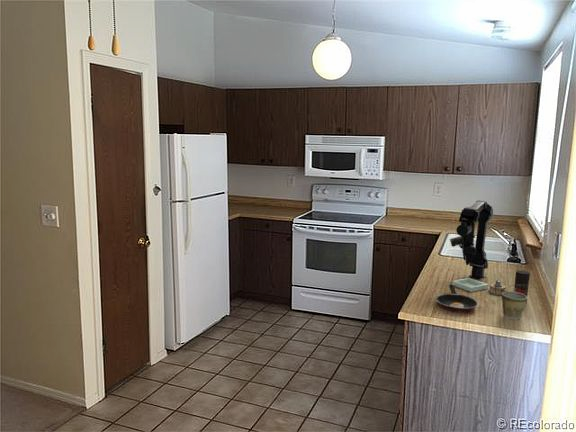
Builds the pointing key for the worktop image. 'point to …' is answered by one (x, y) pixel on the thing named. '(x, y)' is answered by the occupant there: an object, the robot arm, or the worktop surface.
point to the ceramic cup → (513, 304)
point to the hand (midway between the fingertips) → (465, 262)
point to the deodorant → (522, 282)
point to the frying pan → (456, 301)
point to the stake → (497, 284)
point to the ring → (497, 289)
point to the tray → (470, 284)
